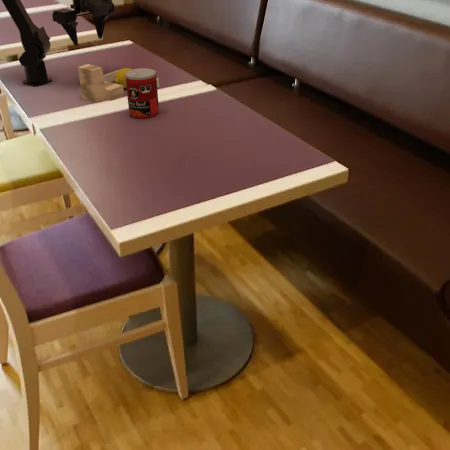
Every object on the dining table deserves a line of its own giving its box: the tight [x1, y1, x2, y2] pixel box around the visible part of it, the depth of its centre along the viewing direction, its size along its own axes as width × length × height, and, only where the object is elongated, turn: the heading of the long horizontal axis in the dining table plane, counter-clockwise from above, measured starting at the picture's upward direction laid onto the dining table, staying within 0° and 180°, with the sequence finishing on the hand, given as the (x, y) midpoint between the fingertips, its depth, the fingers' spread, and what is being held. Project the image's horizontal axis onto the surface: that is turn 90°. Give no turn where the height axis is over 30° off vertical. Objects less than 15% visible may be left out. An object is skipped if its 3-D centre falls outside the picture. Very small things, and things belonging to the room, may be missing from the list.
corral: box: [103, 69, 160, 89], centre depth 180 cm, size 16×12×2 cm
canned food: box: [125, 67, 160, 120], centre depth 159 cm, size 8×8×11 cm
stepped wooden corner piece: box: [77, 63, 125, 104], centre depth 172 cm, size 10×8×9 cm
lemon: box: [113, 67, 133, 89], centre depth 179 cm, size 6×6×8 cm
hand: (88, 41), depth 179 cm, fingers open, 9 cm apart
